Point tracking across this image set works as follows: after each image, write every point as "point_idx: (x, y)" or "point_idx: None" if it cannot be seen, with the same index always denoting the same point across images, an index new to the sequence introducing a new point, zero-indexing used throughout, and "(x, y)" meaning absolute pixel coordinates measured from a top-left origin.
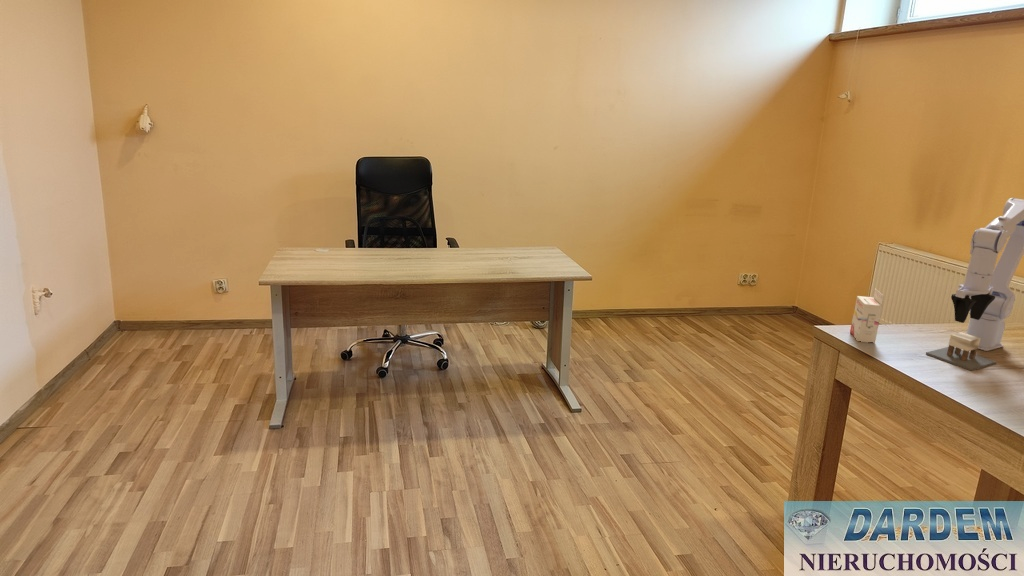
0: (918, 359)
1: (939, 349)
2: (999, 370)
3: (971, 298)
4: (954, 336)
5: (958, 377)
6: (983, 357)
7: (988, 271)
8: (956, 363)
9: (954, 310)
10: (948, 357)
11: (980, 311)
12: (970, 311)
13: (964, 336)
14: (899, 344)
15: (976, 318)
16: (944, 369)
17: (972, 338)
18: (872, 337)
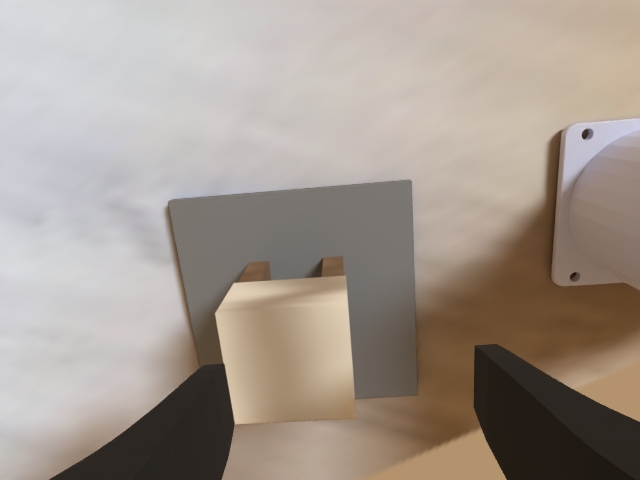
0: (72, 233)
1: (287, 196)
2: (344, 435)
3: (611, 470)
4: (221, 333)
5: (85, 420)
6: (412, 345)
7: None
8: (197, 345)
9: (143, 416)
10: (225, 288)
11: (514, 476)
12: (502, 368)
13: (278, 365)
14: (151, 28)
15: (476, 400)
16: (98, 352)
17: (295, 403)
18: None
